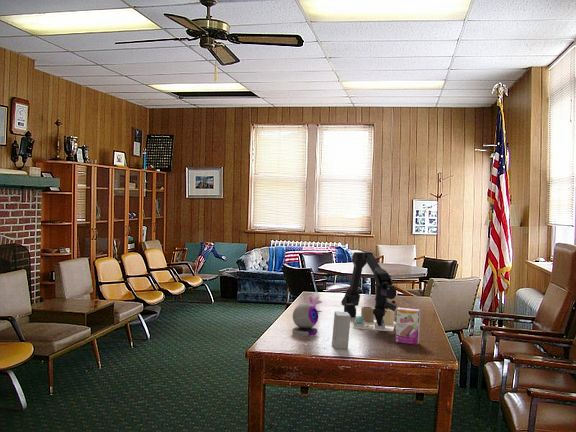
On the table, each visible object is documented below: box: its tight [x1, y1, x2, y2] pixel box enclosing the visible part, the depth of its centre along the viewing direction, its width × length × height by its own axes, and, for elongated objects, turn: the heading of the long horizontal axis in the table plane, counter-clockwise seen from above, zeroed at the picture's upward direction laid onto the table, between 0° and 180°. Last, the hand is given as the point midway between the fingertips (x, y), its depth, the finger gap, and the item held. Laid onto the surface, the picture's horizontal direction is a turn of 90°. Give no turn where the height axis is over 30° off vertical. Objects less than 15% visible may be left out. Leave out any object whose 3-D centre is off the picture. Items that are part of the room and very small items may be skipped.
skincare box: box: [331, 311, 352, 350], centre depth 274 cm, size 8×7×16 cm
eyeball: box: [291, 302, 319, 337], centre depth 300 cm, size 13×13×15 cm
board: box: [352, 306, 396, 332], centre depth 321 cm, size 21×22×8 cm
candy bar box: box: [394, 307, 421, 346], centre depth 285 cm, size 11×5×16 cm, turn 71°
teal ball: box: [355, 315, 363, 324], centre depth 315 cm, size 4×4×4 cm
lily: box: [301, 294, 323, 309], centre depth 356 cm, size 12×12×10 cm
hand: (380, 325), depth 312 cm, fingers closed on charcoal ball, 4 cm apart
